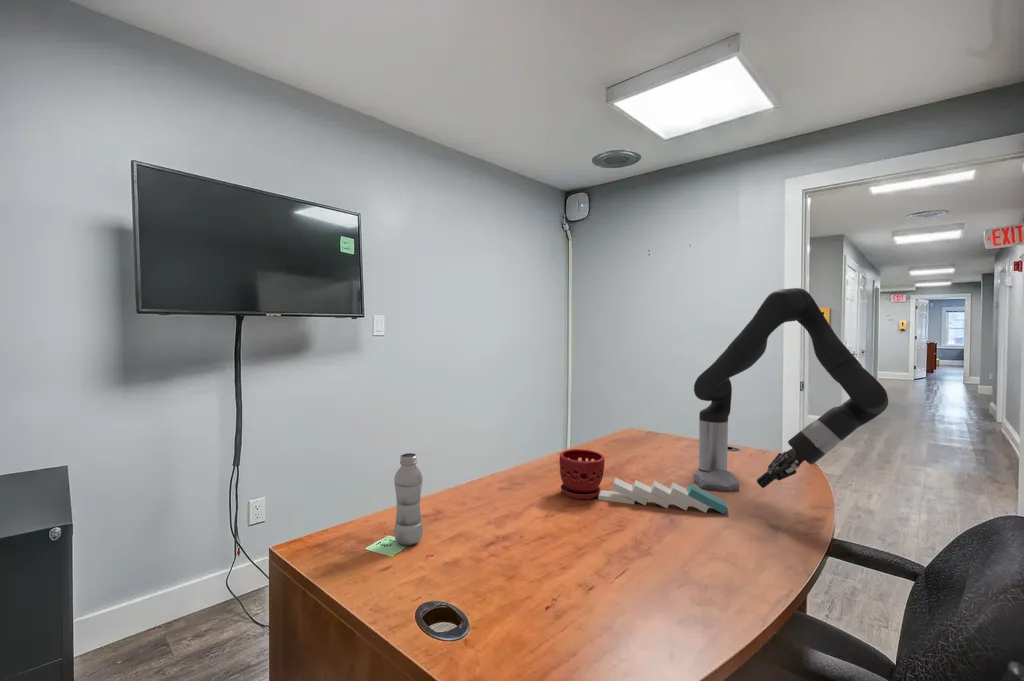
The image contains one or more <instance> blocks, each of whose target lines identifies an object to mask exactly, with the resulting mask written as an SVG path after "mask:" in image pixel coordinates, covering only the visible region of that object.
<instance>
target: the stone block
mask: <svg viewBox="0 0 1024 681" xmlns="http://www.w3.org/2000/svg"><path fill="white" fill-rule="evenodd" d="M738 480H739V479H737V477H736V475H735V474H733V473H732V472H731V471H728V470H727V471H726V470H720V471H713V472H707V471H703V470H697V471H695V473H694V474H693V482H694V483H695V484H697V483H698V484H697V485H700V486H699V488H701V487H702V488H701V489H707V488H709V489H710V490H716V489H717V491H725V490H727V492H732V491H733V490H735V491H739V490H740V485H739V481H738ZM709 489H708V490H709Z"/></svg>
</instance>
